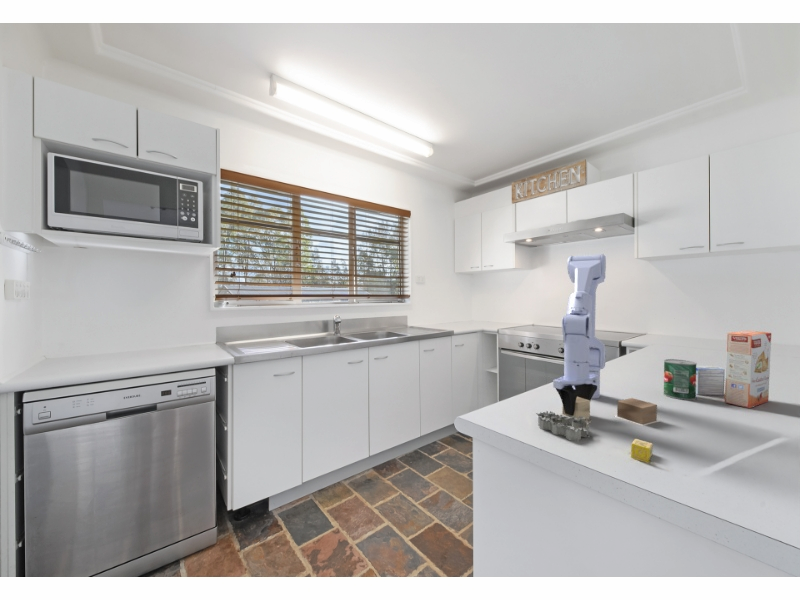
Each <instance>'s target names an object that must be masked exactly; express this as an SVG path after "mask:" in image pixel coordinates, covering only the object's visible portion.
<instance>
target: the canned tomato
mask: <svg viewBox="0 0 800 600" xmlns="http://www.w3.org/2000/svg"><path fill="white" fill-rule="evenodd" d="M663 361H664V363H663V364H664V365H663V367H664V368H663V392H662V393H663V395H664V396H665V395H666V396H665V397H668V398H671V397H672V398H671V399H675V398H677V400H682V399H684V400H683V401H695V400H696V399H697V397H696V366H697V362H695V361H691V360H685V359H674V358H673V359H672V358H671V359H669V358H668V359H664V360H663ZM694 399H695V400H694Z"/></svg>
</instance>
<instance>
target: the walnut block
mask: <svg viewBox="0 0 800 600" xmlns="http://www.w3.org/2000/svg"><path fill="white" fill-rule="evenodd" d="M616 407H617V409H616V410H617V411H616V412H617V414H616V416H617V417H616V418H618V417H620V418H619V419H621V418H623V419H622V420H624V419H626V420H625V421H627V420H629V421H628V422H630V421H632V422H631V423H633V422H636V423H639V424H642V425H643V424H646V423H650V422H654V421H657V420H658V418H657V417H658V416H657V415H658V404H655V403H652V402H648V401H644V400H640V399H637V398H634V397H631V398H625V399H620V400H617V406H616ZM636 423H635V424H636ZM639 424H638V425H639ZM642 425H641V426H642Z"/></svg>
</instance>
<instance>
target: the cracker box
mask: <svg viewBox="0 0 800 600" xmlns="http://www.w3.org/2000/svg"><path fill="white" fill-rule="evenodd" d="M771 345H772V332H766V331H754V330H743V331H742V330H741V331H734V332H728V333H727V334H726V351H725V353H726V354H725V381H724V403H726V404H729V405H734V406H738V407H742V408H746V409H751V408H754V407H756V406H759V405H762V404H765V403H767V402H769V396H770V395H769V393H770V392H769V391H770V374H771V373H770V370H771V351H772V349H771V348H772V347H771Z"/></svg>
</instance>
